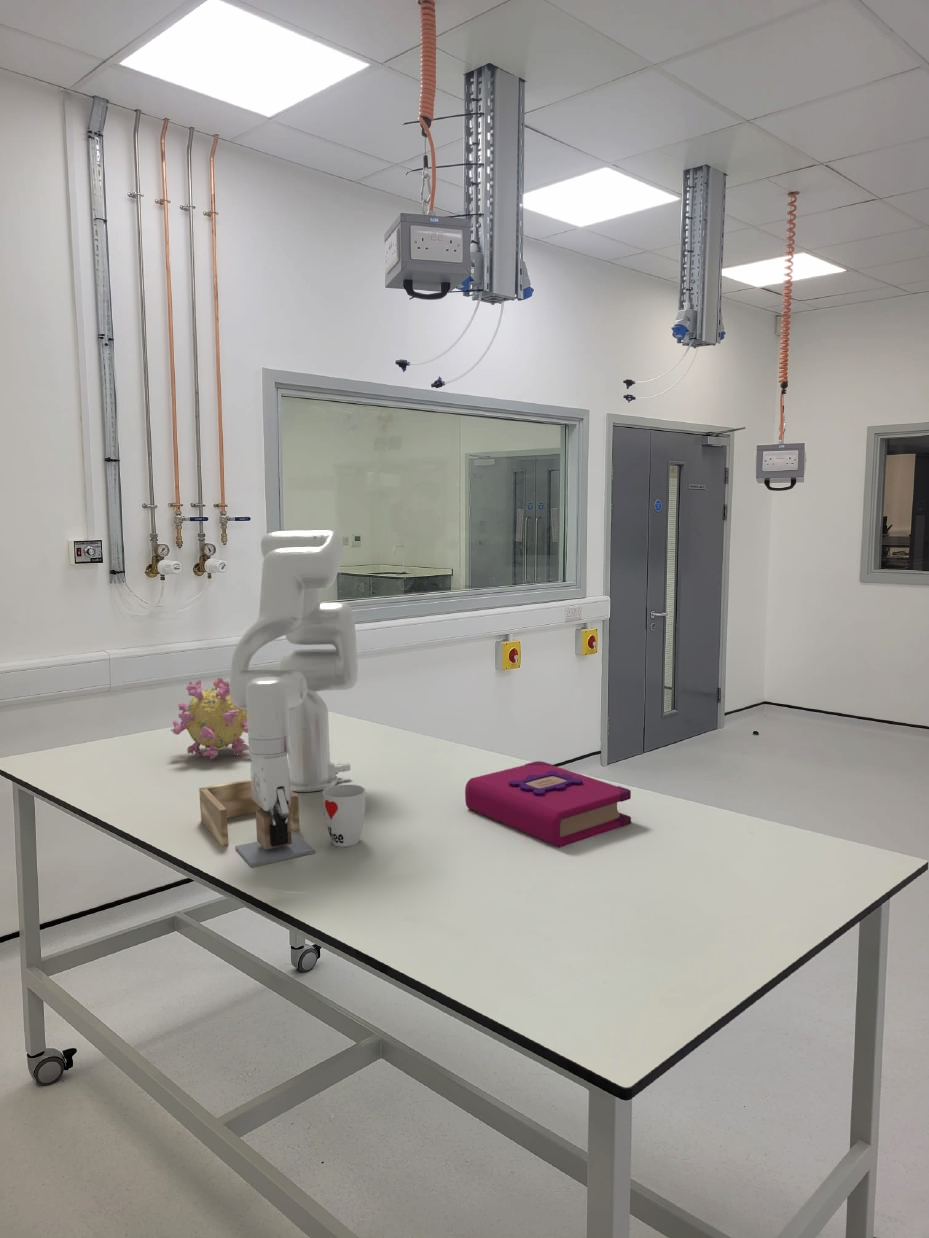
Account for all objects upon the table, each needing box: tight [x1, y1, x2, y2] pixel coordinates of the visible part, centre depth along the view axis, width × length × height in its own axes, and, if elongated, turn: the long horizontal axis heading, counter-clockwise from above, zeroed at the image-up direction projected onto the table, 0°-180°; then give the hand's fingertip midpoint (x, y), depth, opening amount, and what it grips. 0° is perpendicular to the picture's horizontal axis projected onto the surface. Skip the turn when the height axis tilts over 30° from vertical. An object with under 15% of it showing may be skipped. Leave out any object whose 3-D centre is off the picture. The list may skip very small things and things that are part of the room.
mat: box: [235, 832, 316, 868], centre depth 162 cm, size 12×10×1 cm
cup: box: [322, 784, 367, 848], centre depth 166 cm, size 8×8×10 cm
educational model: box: [169, 677, 249, 760], centre depth 228 cm, size 23×22×20 cm
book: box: [464, 760, 632, 848], centre depth 177 cm, size 21×28×8 cm
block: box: [255, 806, 292, 850], centre depth 162 cm, size 5×5×6 cm
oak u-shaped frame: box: [198, 778, 301, 847], centre depth 176 cm, size 15×16×7 cm
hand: (274, 838), depth 162 cm, fingers closed on block, 4 cm apart
